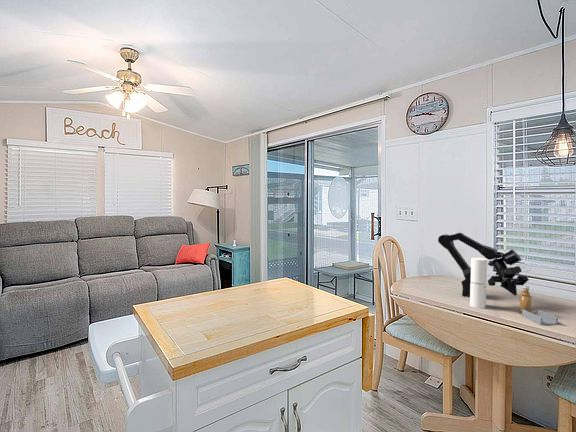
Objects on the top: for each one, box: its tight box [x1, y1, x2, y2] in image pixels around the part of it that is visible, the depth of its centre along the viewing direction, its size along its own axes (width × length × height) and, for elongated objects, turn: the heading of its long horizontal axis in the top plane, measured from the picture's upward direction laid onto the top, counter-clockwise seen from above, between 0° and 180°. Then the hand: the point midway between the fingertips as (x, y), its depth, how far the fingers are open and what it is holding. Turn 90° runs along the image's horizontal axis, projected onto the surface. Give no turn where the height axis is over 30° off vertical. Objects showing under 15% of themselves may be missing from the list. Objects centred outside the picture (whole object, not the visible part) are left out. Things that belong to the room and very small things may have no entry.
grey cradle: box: [521, 308, 559, 326], centre depth 150 cm, size 11×8×3 cm
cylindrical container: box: [469, 257, 488, 309], centre depth 169 cm, size 7×7×25 cm
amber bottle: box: [519, 285, 532, 315], centre depth 158 cm, size 4×4×14 cm
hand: (515, 295), depth 165 cm, fingers closed
